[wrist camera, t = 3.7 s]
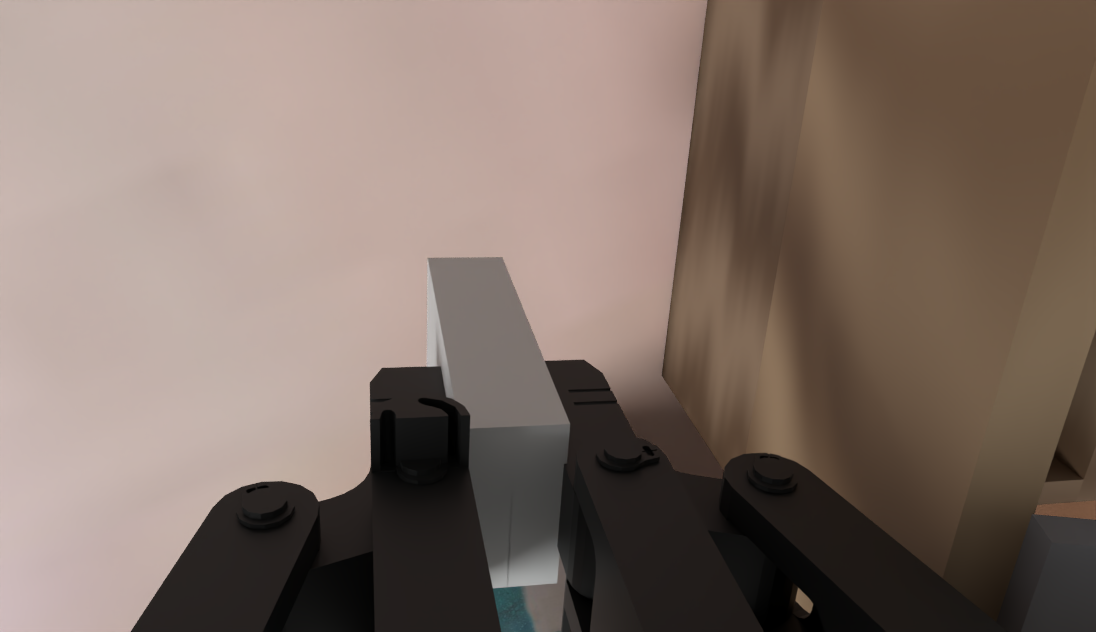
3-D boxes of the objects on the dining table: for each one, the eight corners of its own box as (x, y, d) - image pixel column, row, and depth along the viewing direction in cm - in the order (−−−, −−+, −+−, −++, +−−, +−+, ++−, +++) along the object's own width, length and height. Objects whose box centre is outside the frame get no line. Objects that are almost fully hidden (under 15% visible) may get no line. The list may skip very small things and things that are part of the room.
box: (715, -66, 27) (866, -57, 19) (1034, -46, 29) (1293, -30, 21) (661, 375, 33) (758, 525, 25) (929, 365, 35) (1099, 500, 27)
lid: (954, -73, 18) (836, -80, 19) (1513, -76, 7) (1193, -95, 7) (817, 547, 25) (731, 538, 25) (990, 1084, 13) (827, 1065, 13)
